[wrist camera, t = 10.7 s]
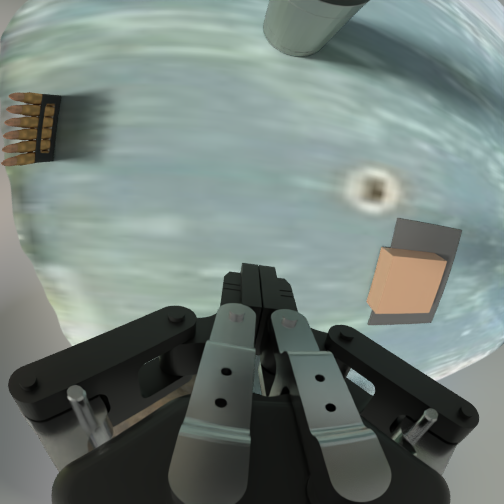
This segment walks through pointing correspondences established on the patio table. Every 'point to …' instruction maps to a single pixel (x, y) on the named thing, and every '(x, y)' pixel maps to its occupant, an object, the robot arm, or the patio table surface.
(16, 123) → the ammunition clip
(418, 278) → the peach block
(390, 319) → the charcoal mat
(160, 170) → the patio table surface
